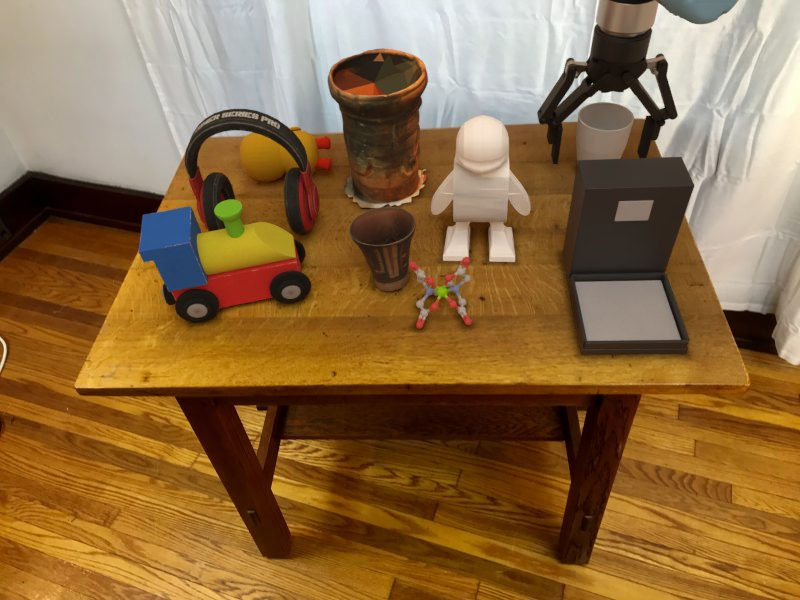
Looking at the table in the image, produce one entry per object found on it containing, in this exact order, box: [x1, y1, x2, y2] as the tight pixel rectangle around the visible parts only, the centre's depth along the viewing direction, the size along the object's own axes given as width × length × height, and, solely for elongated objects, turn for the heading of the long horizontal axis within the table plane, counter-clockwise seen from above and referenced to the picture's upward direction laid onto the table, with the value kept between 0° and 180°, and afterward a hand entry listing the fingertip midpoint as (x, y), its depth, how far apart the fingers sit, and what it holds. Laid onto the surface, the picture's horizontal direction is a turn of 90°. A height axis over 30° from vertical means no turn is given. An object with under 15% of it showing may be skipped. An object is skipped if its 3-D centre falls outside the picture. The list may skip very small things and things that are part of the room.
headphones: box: [184, 108, 321, 235], centre depth 89 cm, size 18×10×20 cm, turn 90°
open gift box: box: [561, 156, 695, 356], centre depth 76 cm, size 18×12×16 cm
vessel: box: [327, 48, 429, 209], centre depth 95 cm, size 14×14×20 cm
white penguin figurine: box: [430, 114, 532, 263], centre depth 84 cm, size 14×9×20 cm, turn 84°
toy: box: [239, 126, 333, 183], centre depth 103 cm, size 9×9×15 cm
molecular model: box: [408, 256, 473, 330], centre depth 80 cm, size 7×8×7 cm
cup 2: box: [575, 101, 635, 162], centre depth 97 cm, size 8×8×10 cm
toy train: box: [138, 199, 312, 323], centre depth 82 cm, size 9×20×15 cm, turn 102°
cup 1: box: [348, 206, 417, 292], centre depth 84 cm, size 9×9×10 cm
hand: (597, 158), depth 99 cm, fingers open, 13 cm apart
